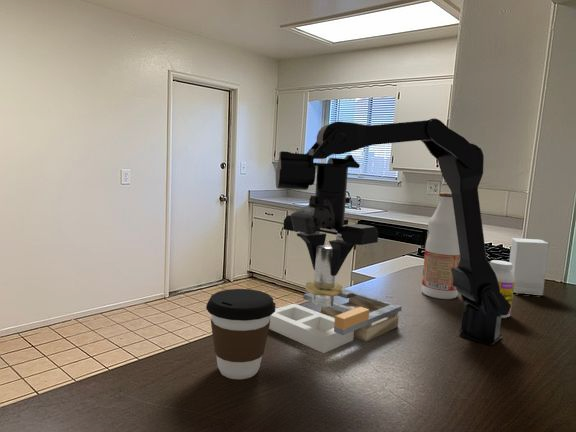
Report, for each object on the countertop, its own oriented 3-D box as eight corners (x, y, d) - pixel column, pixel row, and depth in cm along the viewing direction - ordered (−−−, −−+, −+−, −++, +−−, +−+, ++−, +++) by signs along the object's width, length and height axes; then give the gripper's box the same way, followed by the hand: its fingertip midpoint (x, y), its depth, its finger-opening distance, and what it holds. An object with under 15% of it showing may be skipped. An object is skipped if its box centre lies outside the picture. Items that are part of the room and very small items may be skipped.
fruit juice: (432, 300, 111) (443, 193, 107) (414, 289, 120) (424, 190, 116) (464, 299, 113) (476, 194, 109) (444, 289, 122) (454, 192, 118)
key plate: (401, 310, 89) (402, 297, 89) (342, 335, 75) (344, 319, 74) (333, 289, 102) (334, 277, 101) (272, 307, 87) (273, 293, 87)
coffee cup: (244, 396, 61) (248, 315, 59) (189, 372, 66) (191, 299, 65) (285, 367, 70) (289, 297, 68) (234, 348, 76) (236, 283, 74)
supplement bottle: (497, 320, 98) (503, 266, 97) (474, 310, 104) (479, 259, 102) (516, 317, 101) (523, 264, 99) (493, 308, 107) (499, 258, 105)
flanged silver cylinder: (348, 304, 82) (352, 248, 80) (325, 312, 77) (329, 252, 75) (320, 295, 86) (324, 242, 85) (297, 302, 81) (300, 245, 80)
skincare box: (535, 291, 125) (542, 239, 123) (543, 298, 118) (551, 243, 116) (504, 288, 127) (511, 236, 125) (511, 294, 120) (517, 240, 118)
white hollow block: (353, 340, 82) (354, 325, 82) (323, 353, 76) (324, 337, 76) (293, 316, 93) (294, 303, 93) (263, 326, 87) (264, 312, 87)
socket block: (397, 326, 91) (399, 309, 90) (366, 341, 82) (367, 322, 82) (351, 311, 99) (352, 295, 98) (318, 323, 90) (319, 305, 90)
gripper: (265, 187, 79) (260, 268, 81) (345, 196, 67) (338, 292, 69) (304, 187, 87) (300, 261, 89) (383, 195, 75) (375, 281, 77)
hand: (325, 272), depth 81 cm, fingers closed on flanged silver cylinder, 4 cm apart
